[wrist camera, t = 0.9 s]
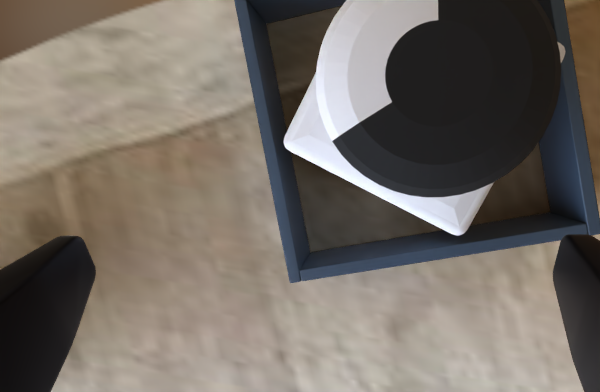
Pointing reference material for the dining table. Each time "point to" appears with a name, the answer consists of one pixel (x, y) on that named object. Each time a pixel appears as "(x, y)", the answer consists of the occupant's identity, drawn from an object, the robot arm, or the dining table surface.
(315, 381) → the dining table surface
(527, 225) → the caddy
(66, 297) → the robot arm
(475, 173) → the medicine bottle
